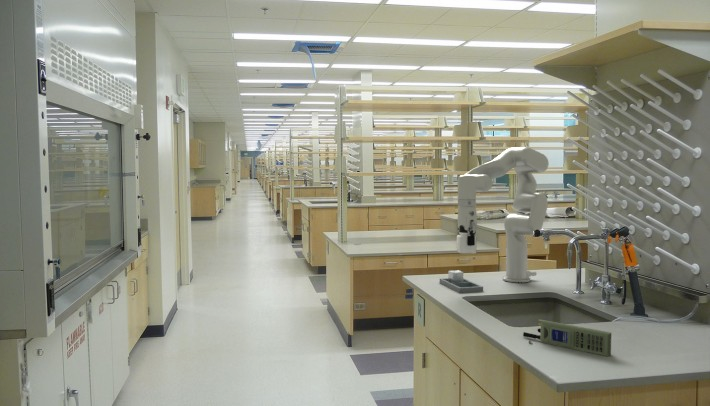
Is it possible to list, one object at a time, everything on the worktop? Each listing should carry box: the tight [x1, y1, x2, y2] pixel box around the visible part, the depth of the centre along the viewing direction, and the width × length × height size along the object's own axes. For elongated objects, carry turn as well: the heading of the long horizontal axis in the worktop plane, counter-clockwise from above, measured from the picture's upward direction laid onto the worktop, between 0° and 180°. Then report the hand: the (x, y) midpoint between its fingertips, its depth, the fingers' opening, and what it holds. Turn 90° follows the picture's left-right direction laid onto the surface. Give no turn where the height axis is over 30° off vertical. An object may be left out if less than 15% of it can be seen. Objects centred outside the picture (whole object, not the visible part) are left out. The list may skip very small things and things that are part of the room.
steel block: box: [447, 269, 464, 283], centre depth 236 cm, size 5×5×6 cm
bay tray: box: [439, 277, 484, 294], centre depth 231 cm, size 11×21×3 cm, turn 14°
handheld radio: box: [522, 319, 612, 357], centre depth 153 cm, size 7×3×25 cm
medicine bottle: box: [456, 225, 477, 254], centre depth 225 cm, size 7×7×12 cm
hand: (466, 243), depth 225 cm, fingers closed on medicine bottle, 8 cm apart
